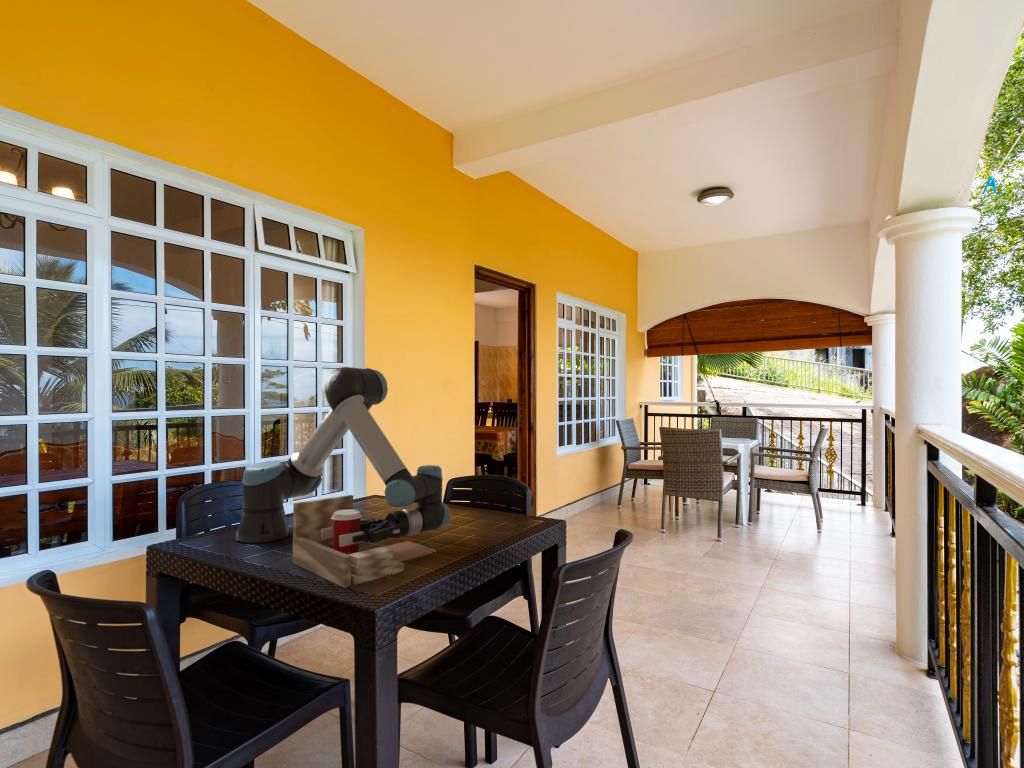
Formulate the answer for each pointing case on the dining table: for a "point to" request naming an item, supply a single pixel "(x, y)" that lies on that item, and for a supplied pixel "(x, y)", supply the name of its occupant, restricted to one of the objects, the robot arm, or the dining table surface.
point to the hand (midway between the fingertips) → (330, 537)
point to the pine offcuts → (373, 564)
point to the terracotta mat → (409, 550)
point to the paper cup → (346, 528)
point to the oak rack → (308, 539)
